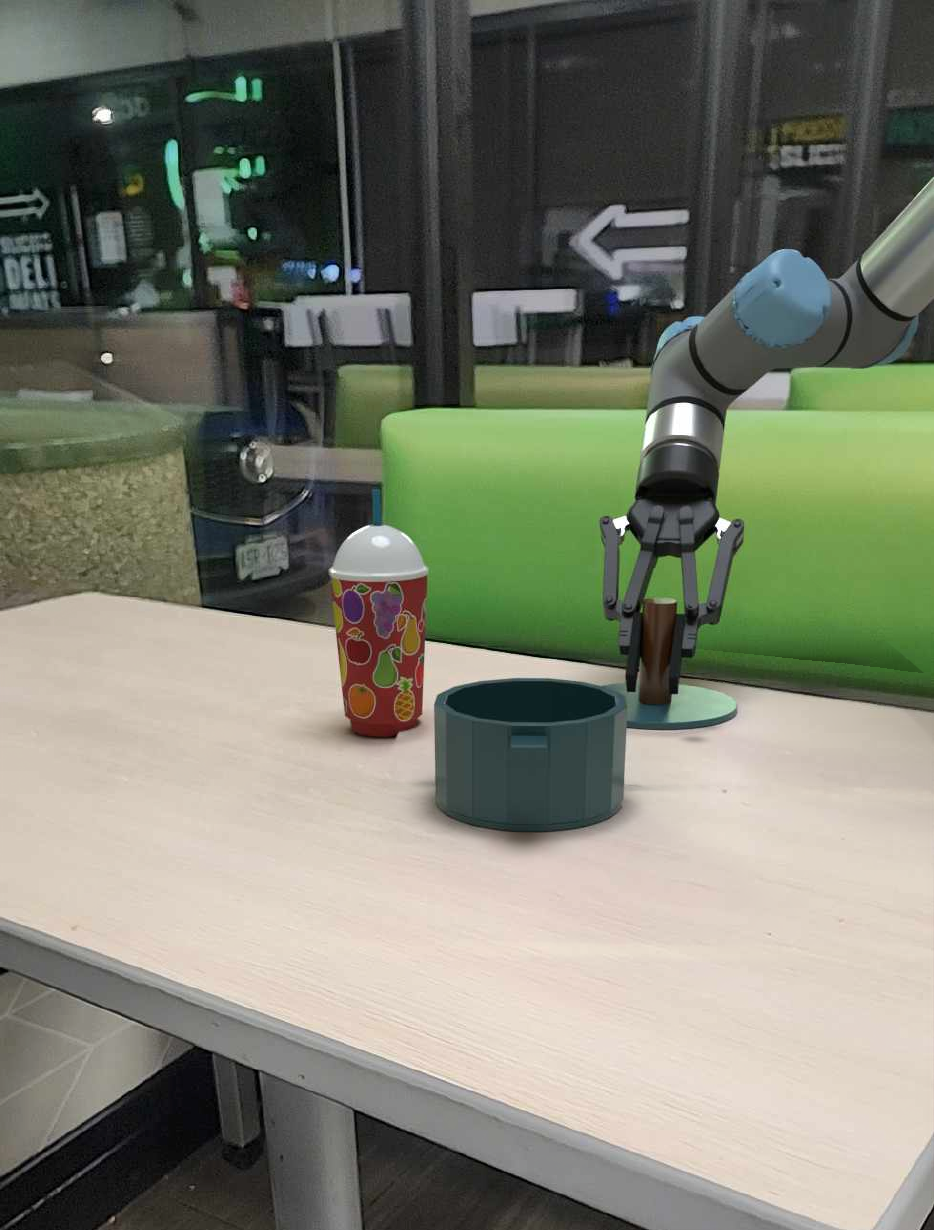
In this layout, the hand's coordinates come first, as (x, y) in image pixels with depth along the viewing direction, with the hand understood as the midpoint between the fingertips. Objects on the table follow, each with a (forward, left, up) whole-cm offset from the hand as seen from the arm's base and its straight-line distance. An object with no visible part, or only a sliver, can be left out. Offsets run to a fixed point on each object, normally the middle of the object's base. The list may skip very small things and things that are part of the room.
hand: (651, 684), depth 110 cm
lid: (-1, -4, -3) cm, 5 cm away
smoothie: (+23, +2, -4) cm, 24 cm away
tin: (+10, +21, -4) cm, 24 cm away
